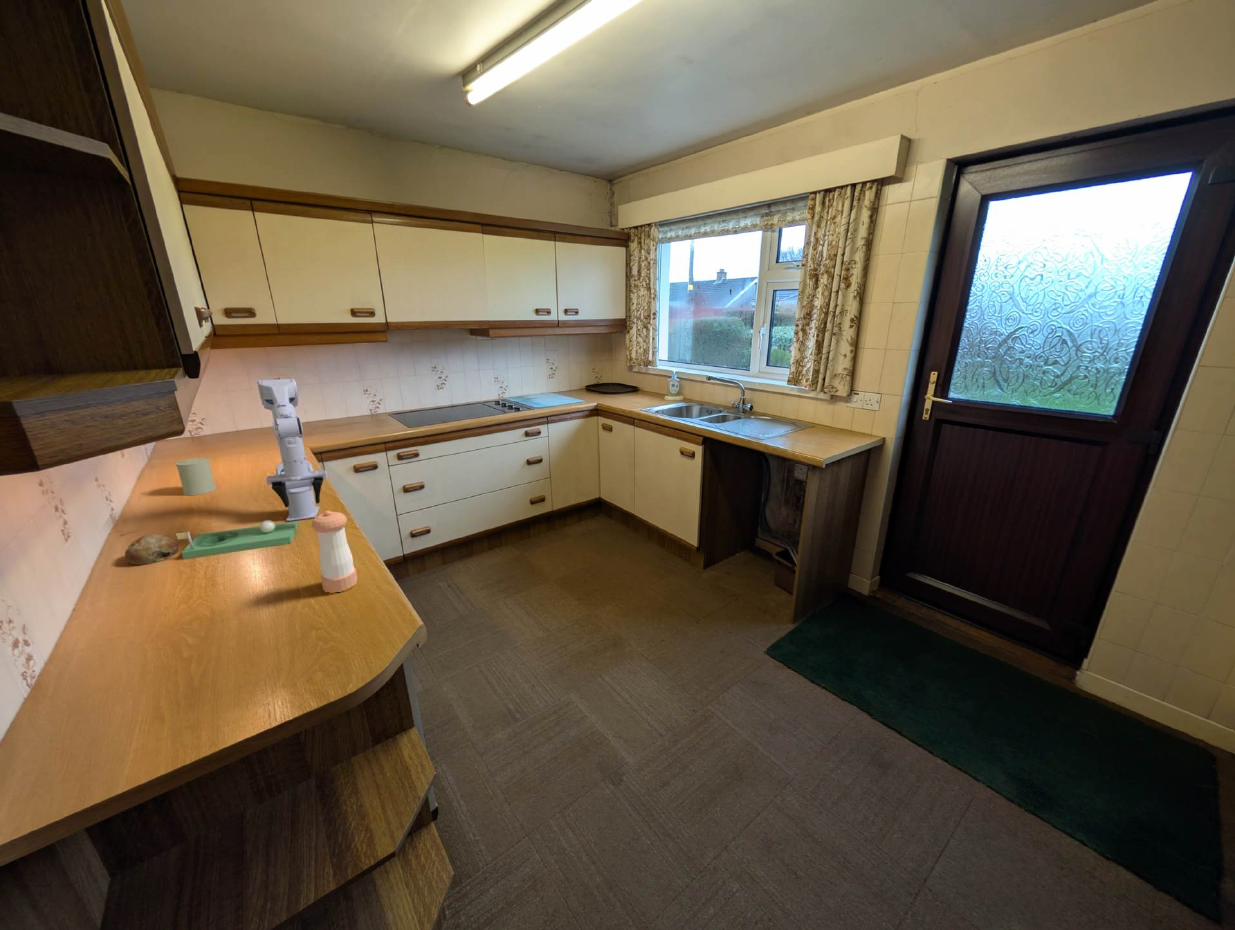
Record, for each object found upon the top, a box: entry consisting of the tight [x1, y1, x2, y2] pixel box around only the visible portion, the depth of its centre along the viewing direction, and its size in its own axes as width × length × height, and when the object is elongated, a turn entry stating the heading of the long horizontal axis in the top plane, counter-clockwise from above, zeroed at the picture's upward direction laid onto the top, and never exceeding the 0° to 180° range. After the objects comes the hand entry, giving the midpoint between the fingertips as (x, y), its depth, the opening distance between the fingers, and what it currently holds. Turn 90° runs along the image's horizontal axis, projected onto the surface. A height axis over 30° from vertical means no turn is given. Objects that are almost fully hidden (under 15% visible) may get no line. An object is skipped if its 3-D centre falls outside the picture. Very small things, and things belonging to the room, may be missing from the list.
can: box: [175, 457, 217, 496], centre depth 173 cm, size 9×9×12 cm
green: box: [175, 520, 299, 560], centre depth 135 cm, size 12×24×7 cm, turn 114°
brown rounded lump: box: [124, 533, 179, 566], centre depth 126 cm, size 10×10×8 cm
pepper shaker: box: [311, 510, 358, 593], centre depth 112 cm, size 7×7×19 cm
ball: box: [259, 519, 276, 533], centre depth 137 cm, size 4×4×4 cm
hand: (302, 504), depth 139 cm, fingers open, 7 cm apart
